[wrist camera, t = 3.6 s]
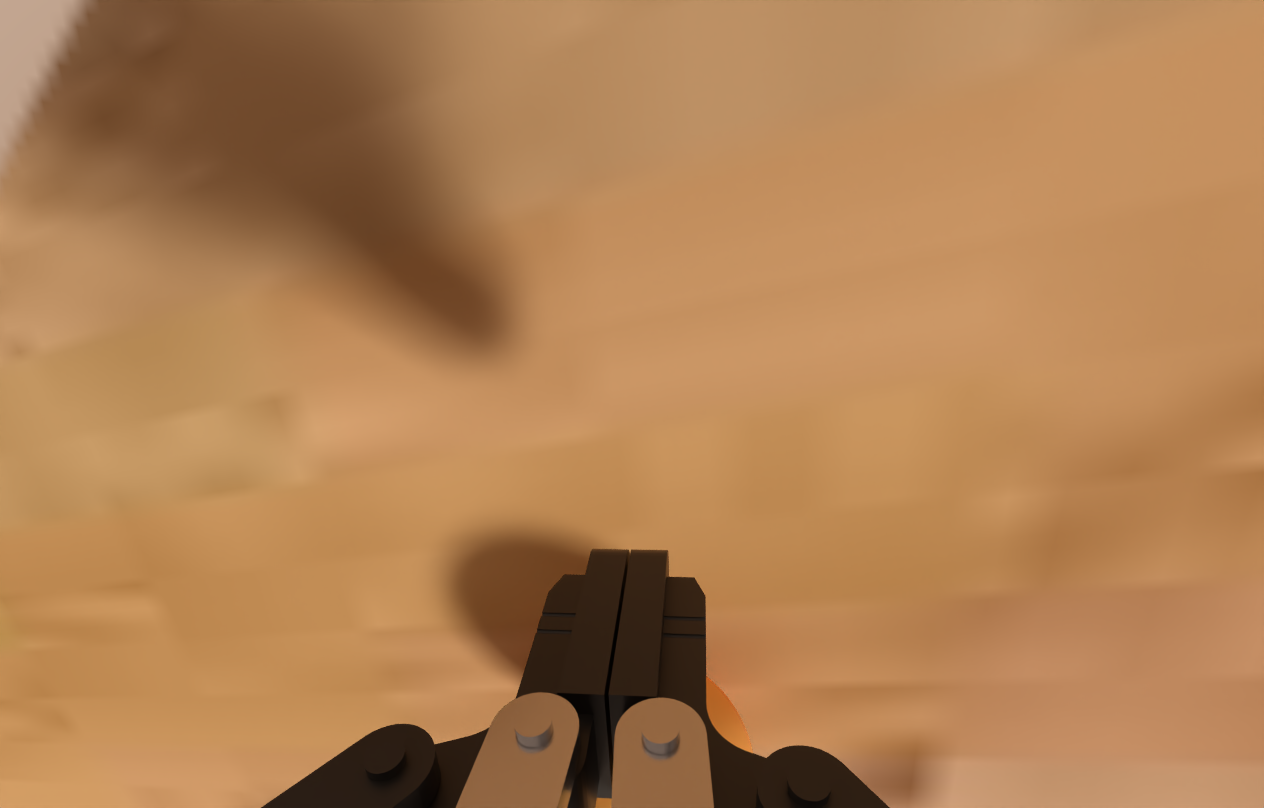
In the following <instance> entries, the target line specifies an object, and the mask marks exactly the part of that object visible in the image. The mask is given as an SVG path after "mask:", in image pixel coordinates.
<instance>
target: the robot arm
mask: <svg viewBox="0 0 1264 808" xmlns="http://www.w3.org/2000/svg"><path fill="white" fill-rule="evenodd" d="M597 798H610V799H612V802H611V808H889V807H888V806H887V805H886V804H885V803H884V802H883V801H882V800H881V799H880V798H879V797H878V796H877V795H876V794H875V793H874V792H872V791H871V790H870V789H869V788H868V787H867V786H866V785H865V784H864V783H863V782H862V781H861V780H860V779H859V778H858V777H857V776H856V775H854V774H853V773H852V772H851V771H850V770H849V769H848V768H847V767H846V766H845V765H844V764H843V763H842V762H840V761H839V760H838V759H837V758H835V757H834V756H832V755H831V754H829V753H827V752H825V751H822V750H820V749H817V748H814V747H809V746H789V747H785V748H782V749H779V750H777V751H775V752H773V753H772V754H771V755H770V756H768V757H767V758H765V757H762V756H759V755H756V754H754V753H751V752H748V751H745V750H743V749H741V748H738V747H737V746H735V745H733V744H732V743H730V742H729V741H727V740H726V739H725V738H724V737H722V736H721V734H720V733H719V732H718V731H717V730H716V729H715V727H714V726H713V724H712V722H711V720H710V718H709V715H708V712H707V705H706V609H705V595H704V593H703V591H702V590H701V588H700V586H699V585H698V583H697V581H696V580H695V578H690V577H669V557H668V550H631V553H630V552H629V550H618V549H592V551H591V554H590V558H589V562H588V566H587V570H586V574H585V575H566V574H565V575H564V576H563V577H562V578H561V579H560V580H559V581H558V582H557V583H556V585H555V586H554V587H553V588H552V589H551V590H550V591H549V593H548V596H547V599H546V602H545V606H544V609H543V612H542V616H541V619H540V622H539V625H538V628H537V633H536V635H535V638H534V641H533V645H532V648H531V651H530V654H529V658H528V661H527V664H526V667H525V671H524V674H523V677H522V680H521V683H520V687H519V690H518V693H517V696H516V699H514V700H512V701H511V702H509V703H508V704H507V705H505V706H504V707H503V708H502V709H501V710H500V711H499V712H498V713H497V715H496V716H495V717H494V719H493V721H492V723H491V725H490V727H489V728H487V729H486V730H484V731H482V732H479V733H477V734H474V735H471V736H468V737H464V738H460V739H456V740H451V741H447V742H443V743H439V744H435V745H434V742H433V740H432V738H431V736H430V735H429V734H428V733H427V732H426V731H425V730H424V729H422V728H420V727H418V726H415V725H411V724H395V725H390V726H386V727H383V728H380V729H378V730H376V731H374V732H372V733H370V734H368V735H367V736H365V737H363V738H362V739H360V740H359V741H358V742H356V743H355V744H353V745H352V746H350V747H349V748H347V749H346V750H344V751H343V752H342V753H340V754H339V755H337V756H336V757H334V758H333V759H331V760H330V761H328V762H327V763H326V764H324V765H323V766H321V767H320V768H318V769H317V770H315V771H314V772H312V773H311V774H309V775H308V776H307V777H305V778H304V779H302V780H301V781H299V782H298V783H296V784H295V785H293V786H292V787H291V788H289V789H288V790H286V791H285V792H283V793H282V794H280V795H279V796H277V797H276V798H274V799H273V800H272V801H270V802H269V803H267V804H266V805H264V806H263V807H261V808H595V807H596V800H597Z"/></svg>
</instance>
